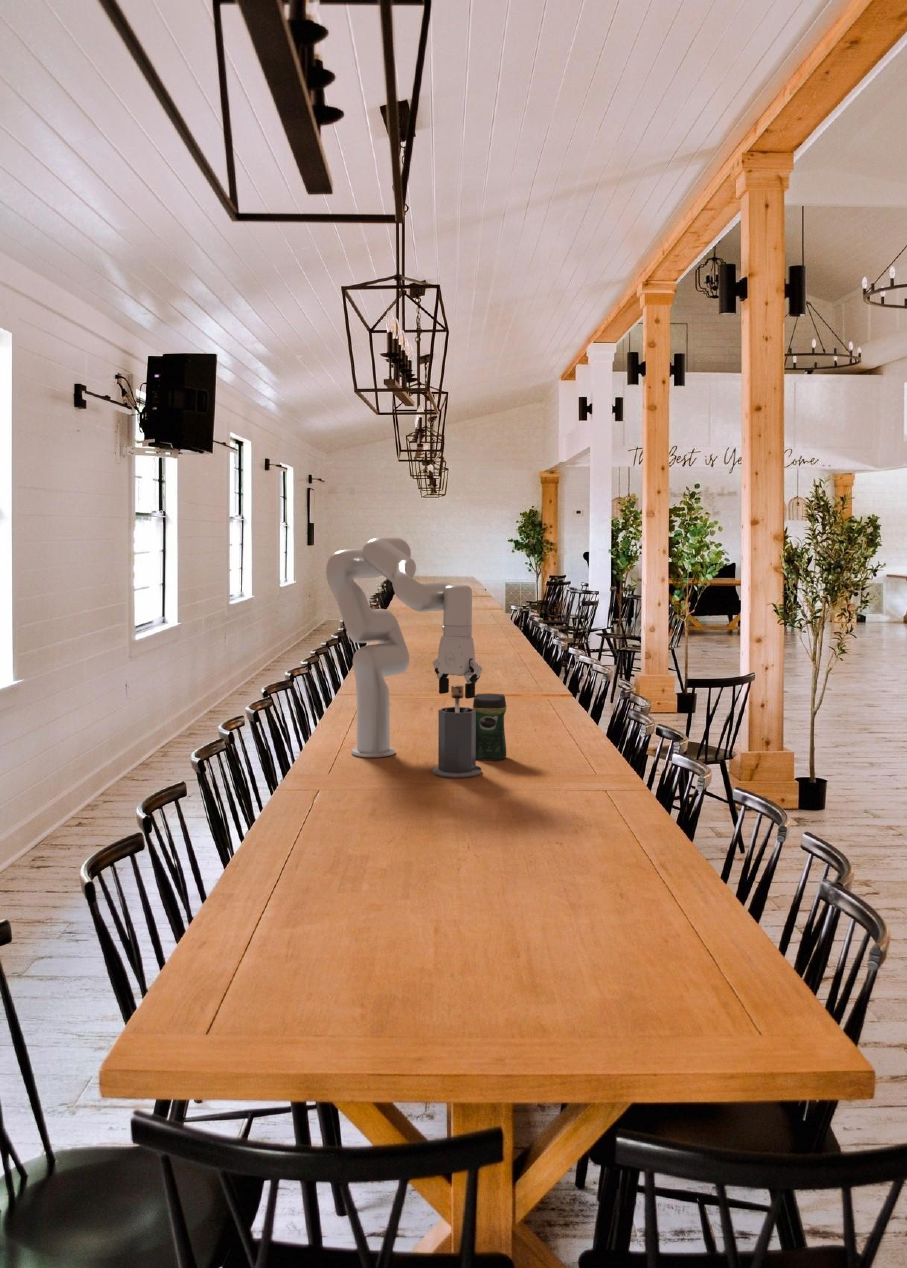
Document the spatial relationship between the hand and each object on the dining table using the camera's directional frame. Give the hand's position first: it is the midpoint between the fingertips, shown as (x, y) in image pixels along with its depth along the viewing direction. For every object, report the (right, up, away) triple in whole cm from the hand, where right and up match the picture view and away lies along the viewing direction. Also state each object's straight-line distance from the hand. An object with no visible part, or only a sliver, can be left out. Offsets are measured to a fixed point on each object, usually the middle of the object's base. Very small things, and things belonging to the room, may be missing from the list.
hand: (456, 695), depth 276 cm
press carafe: (0, -21, +2) cm, 21 cm away
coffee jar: (+9, -19, +20) cm, 29 cm away
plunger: (0, -20, +2) cm, 20 cm away
